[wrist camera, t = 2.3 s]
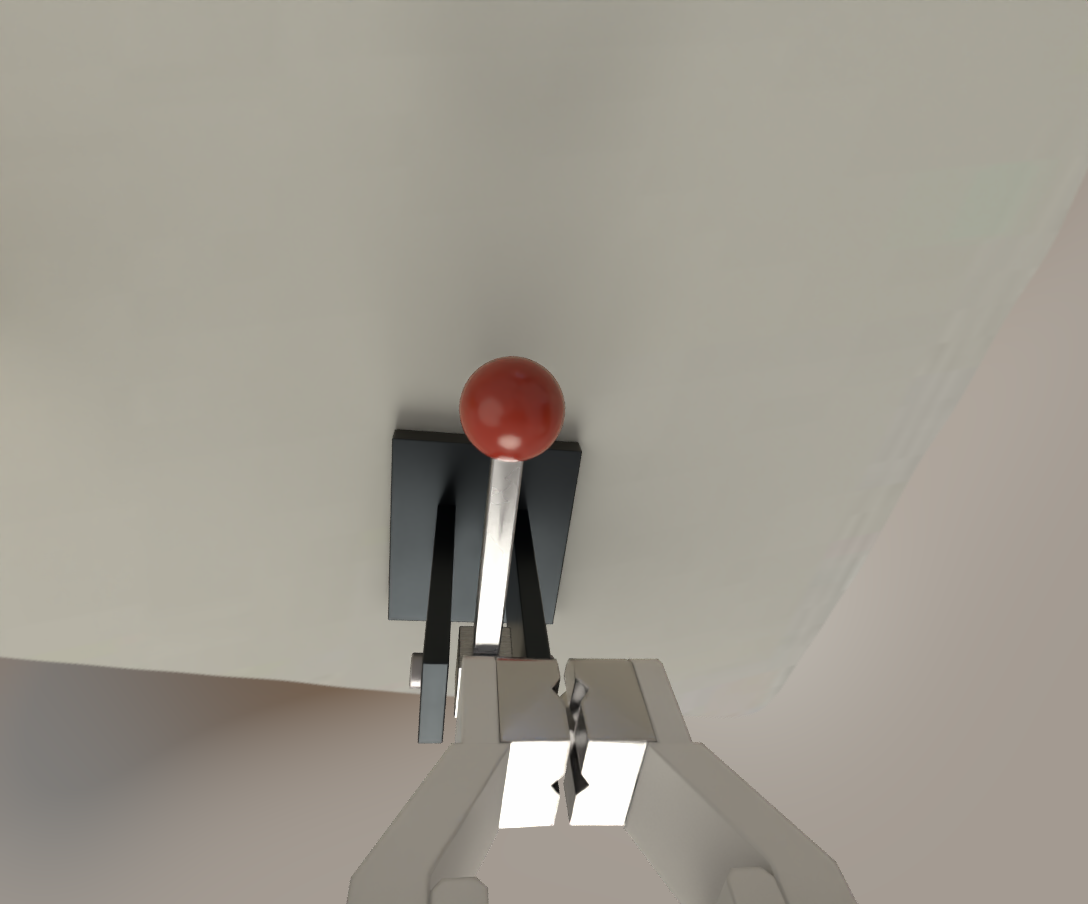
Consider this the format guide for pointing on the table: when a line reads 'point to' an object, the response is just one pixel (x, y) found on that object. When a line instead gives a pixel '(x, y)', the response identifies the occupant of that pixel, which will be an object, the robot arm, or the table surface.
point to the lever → (503, 480)
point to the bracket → (471, 550)
